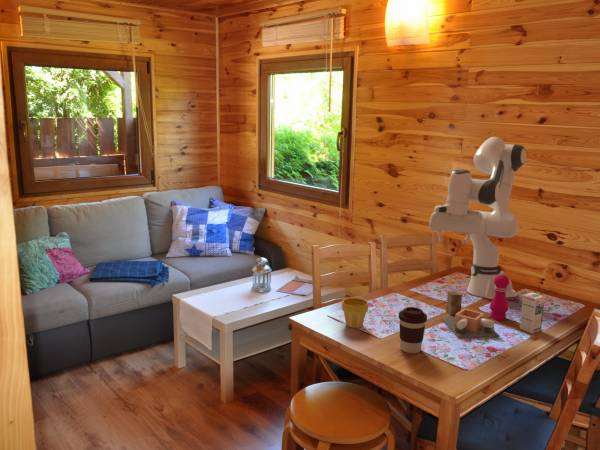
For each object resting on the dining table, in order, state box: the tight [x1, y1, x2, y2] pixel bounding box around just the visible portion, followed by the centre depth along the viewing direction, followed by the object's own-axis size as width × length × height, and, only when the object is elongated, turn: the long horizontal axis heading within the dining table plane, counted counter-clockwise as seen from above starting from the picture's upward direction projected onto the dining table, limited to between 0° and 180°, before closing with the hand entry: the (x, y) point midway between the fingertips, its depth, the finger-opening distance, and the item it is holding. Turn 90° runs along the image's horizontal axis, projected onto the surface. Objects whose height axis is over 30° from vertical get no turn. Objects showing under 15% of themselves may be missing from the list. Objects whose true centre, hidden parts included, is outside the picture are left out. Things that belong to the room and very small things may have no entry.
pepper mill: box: [489, 271, 510, 321], centre depth 215 cm, size 7×7×20 cm
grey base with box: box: [440, 307, 500, 339], centre depth 205 cm, size 18×16×6 cm
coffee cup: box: [398, 306, 428, 354], centre depth 185 cm, size 10×10×15 cm
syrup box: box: [519, 292, 546, 334], centre depth 204 cm, size 6×6×14 cm
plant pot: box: [341, 297, 369, 329], centre depth 206 cm, size 10×10×10 cm
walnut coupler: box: [445, 290, 463, 316], centre depth 220 cm, size 4×4×9 cm
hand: (452, 242), depth 213 cm, fingers open, 8 cm apart
